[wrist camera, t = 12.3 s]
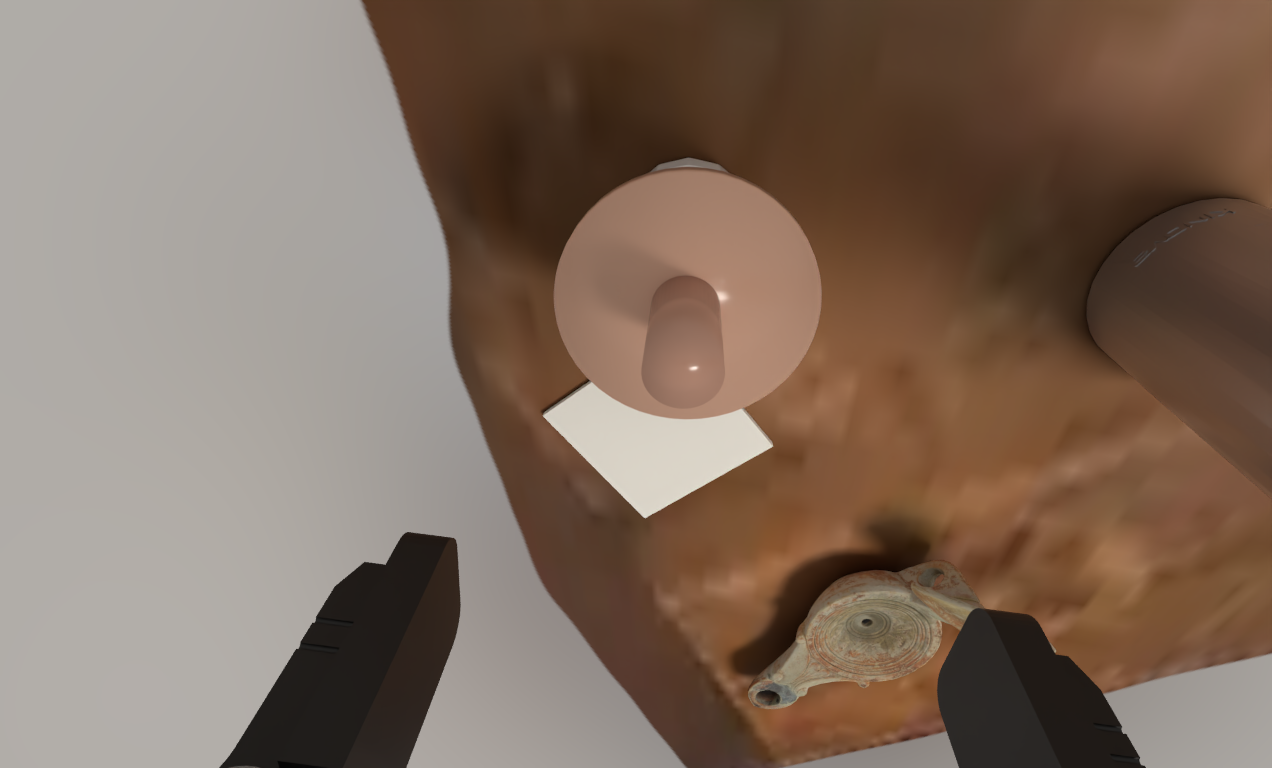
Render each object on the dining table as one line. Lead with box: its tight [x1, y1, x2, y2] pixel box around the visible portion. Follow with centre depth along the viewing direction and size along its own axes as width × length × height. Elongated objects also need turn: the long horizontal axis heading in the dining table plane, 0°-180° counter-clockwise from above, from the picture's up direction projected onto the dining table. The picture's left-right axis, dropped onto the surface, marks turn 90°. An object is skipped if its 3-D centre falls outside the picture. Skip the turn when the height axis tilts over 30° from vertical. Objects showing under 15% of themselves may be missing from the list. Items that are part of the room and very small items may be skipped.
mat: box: [543, 381, 773, 518], centre depth 41 cm, size 10×10×1 cm
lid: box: [554, 167, 822, 419], centre depth 23 cm, size 10×10×6 cm
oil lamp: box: [748, 560, 1056, 709], centre depth 43 cm, size 9×21×10 cm, turn 141°
